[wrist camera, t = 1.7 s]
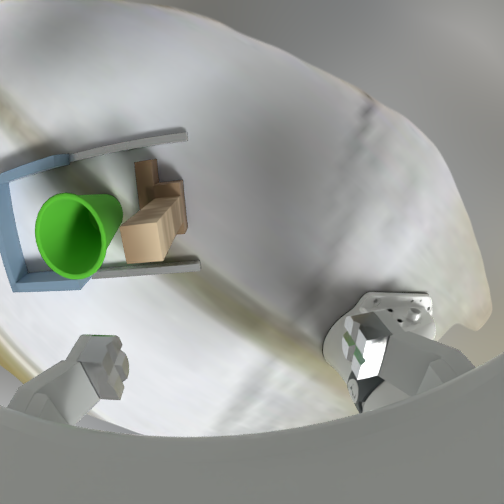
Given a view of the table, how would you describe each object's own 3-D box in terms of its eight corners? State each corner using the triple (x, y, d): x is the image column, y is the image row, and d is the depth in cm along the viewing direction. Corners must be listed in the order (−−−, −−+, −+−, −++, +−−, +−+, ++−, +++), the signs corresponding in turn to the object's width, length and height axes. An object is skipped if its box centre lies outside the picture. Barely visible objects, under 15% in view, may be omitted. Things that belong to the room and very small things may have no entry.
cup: (119, 167, 32) (80, 176, 22) (148, 229, 35) (121, 262, 25) (68, 198, 32) (22, 218, 22) (96, 255, 35) (60, 291, 25)
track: (187, 132, 31) (186, 132, 30) (200, 267, 38) (200, 270, 36) (73, 154, 30) (69, 154, 29) (95, 275, 36) (92, 278, 35)
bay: (68, 153, 30) (53, 155, 26) (91, 277, 36) (80, 289, 33) (1, 175, 29) (-14, 179, 25) (25, 281, 35) (12, 292, 32)
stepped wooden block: (180, 155, 32) (149, 160, 18) (190, 249, 36) (173, 311, 22) (141, 161, 32) (88, 171, 18) (153, 252, 36) (118, 313, 22)
